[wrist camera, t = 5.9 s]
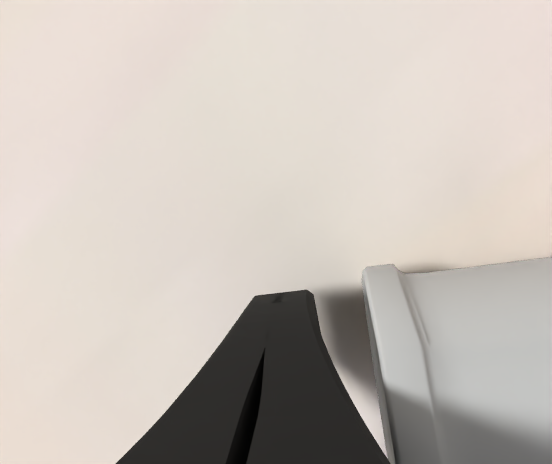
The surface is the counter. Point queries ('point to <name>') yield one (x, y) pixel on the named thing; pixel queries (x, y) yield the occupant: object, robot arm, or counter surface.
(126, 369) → the counter surface
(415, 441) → the tube
